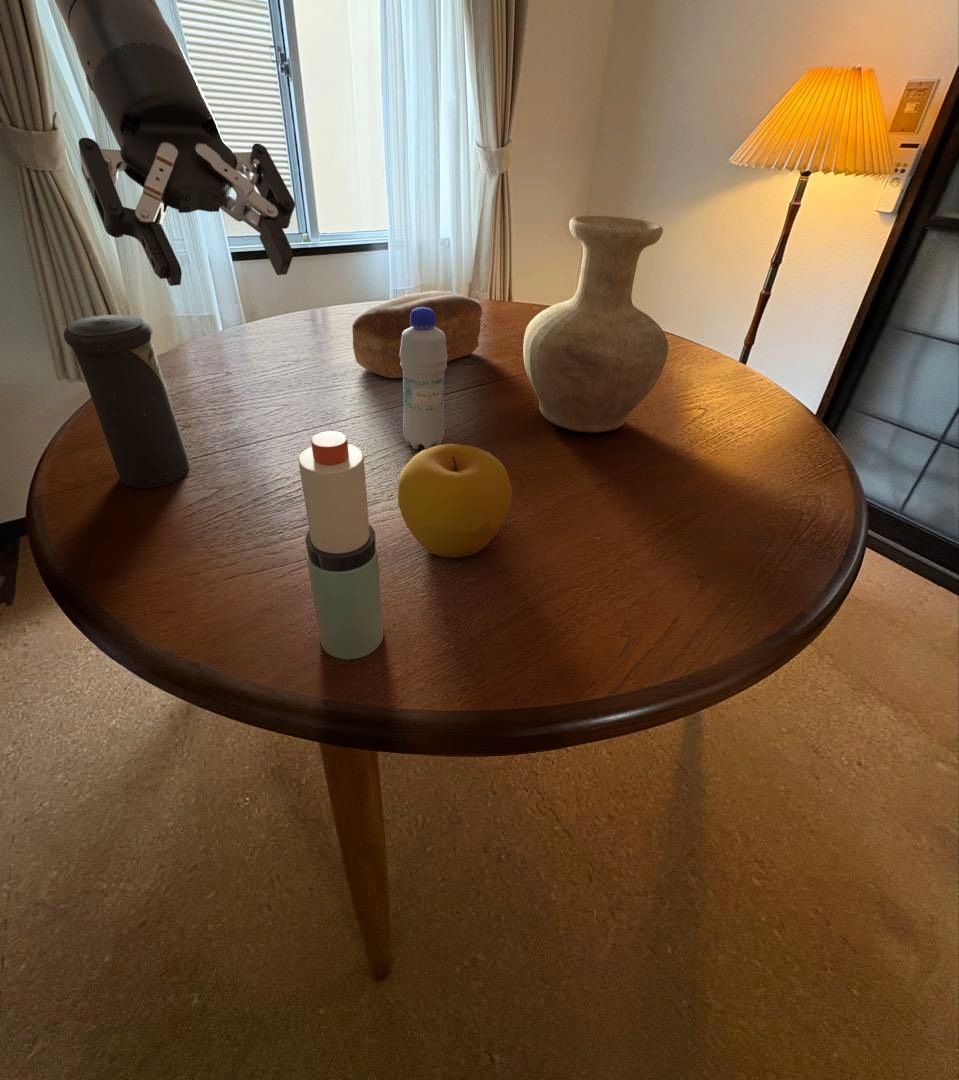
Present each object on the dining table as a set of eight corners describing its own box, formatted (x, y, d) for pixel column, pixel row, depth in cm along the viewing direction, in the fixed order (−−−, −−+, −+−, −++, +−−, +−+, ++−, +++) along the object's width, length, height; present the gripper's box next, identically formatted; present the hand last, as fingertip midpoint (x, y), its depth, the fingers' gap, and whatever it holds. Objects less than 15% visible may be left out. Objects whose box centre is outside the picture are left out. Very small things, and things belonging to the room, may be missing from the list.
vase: (517, 447, 87) (540, 229, 69) (514, 391, 105) (532, 206, 87) (661, 456, 87) (722, 241, 69) (633, 399, 105) (676, 216, 87)
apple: (386, 521, 69) (381, 437, 62) (481, 502, 74) (486, 423, 67) (420, 586, 60) (419, 497, 53) (526, 560, 65) (538, 475, 58)
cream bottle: (311, 557, 44) (295, 456, 39) (310, 522, 48) (295, 426, 43) (372, 550, 46) (365, 451, 40) (366, 517, 49) (359, 422, 44)
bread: (489, 353, 121) (493, 293, 114) (395, 388, 103) (392, 319, 96) (441, 338, 128) (442, 280, 120) (345, 368, 110) (338, 302, 102)
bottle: (406, 455, 83) (402, 315, 71) (399, 435, 88) (394, 301, 76) (450, 452, 85) (453, 314, 73) (440, 432, 90) (442, 300, 78)
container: (206, 469, 77) (164, 318, 65) (144, 498, 70) (85, 337, 58) (166, 451, 80) (120, 304, 68) (104, 477, 74) (41, 320, 62)
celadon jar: (321, 664, 51) (304, 562, 44) (319, 618, 56) (302, 519, 48) (387, 653, 52) (381, 553, 45) (379, 609, 57) (372, 512, 50)
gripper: (28, 24, 37) (134, 249, 37) (242, 51, 45) (328, 236, 45) (45, 121, 43) (135, 313, 43) (230, 129, 51) (305, 292, 51)
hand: (233, 274), depth 44 cm, fingers open, 8 cm apart
